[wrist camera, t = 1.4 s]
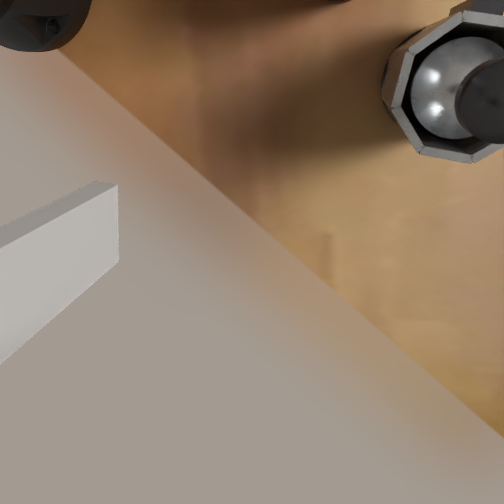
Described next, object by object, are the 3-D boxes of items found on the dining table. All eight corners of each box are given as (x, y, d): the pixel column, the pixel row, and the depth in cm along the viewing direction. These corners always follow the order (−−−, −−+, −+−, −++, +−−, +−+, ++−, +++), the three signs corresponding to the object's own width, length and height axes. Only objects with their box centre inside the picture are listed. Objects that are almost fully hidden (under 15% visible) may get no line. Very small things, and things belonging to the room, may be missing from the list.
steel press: (370, 123, 44) (376, 149, 32) (399, 7, 40) (420, -17, 27) (467, 141, 43) (514, 175, 30) (508, 23, 39) (583, 5, 26)
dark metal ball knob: (399, 128, 33) (417, 156, 23) (427, 29, 30) (460, 16, 21) (491, 145, 32) (549, 181, 23) (528, 45, 29) (613, 38, 20)
